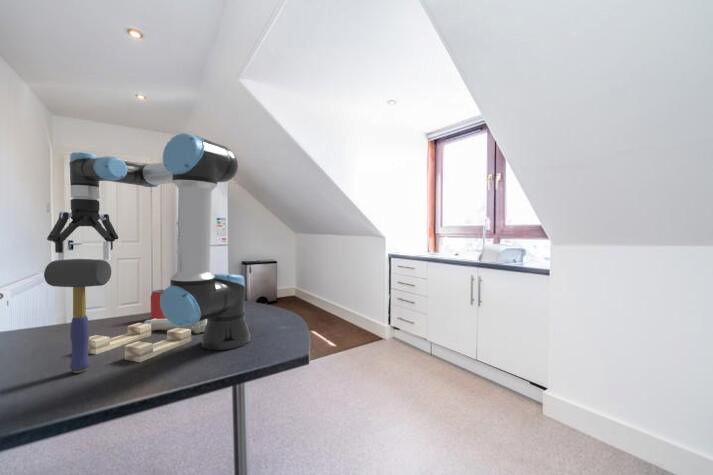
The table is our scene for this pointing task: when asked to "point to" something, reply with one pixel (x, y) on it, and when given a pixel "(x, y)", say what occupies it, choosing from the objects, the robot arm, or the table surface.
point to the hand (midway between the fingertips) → (86, 261)
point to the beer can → (156, 305)
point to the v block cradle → (139, 349)
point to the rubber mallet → (78, 299)
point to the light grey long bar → (166, 324)
